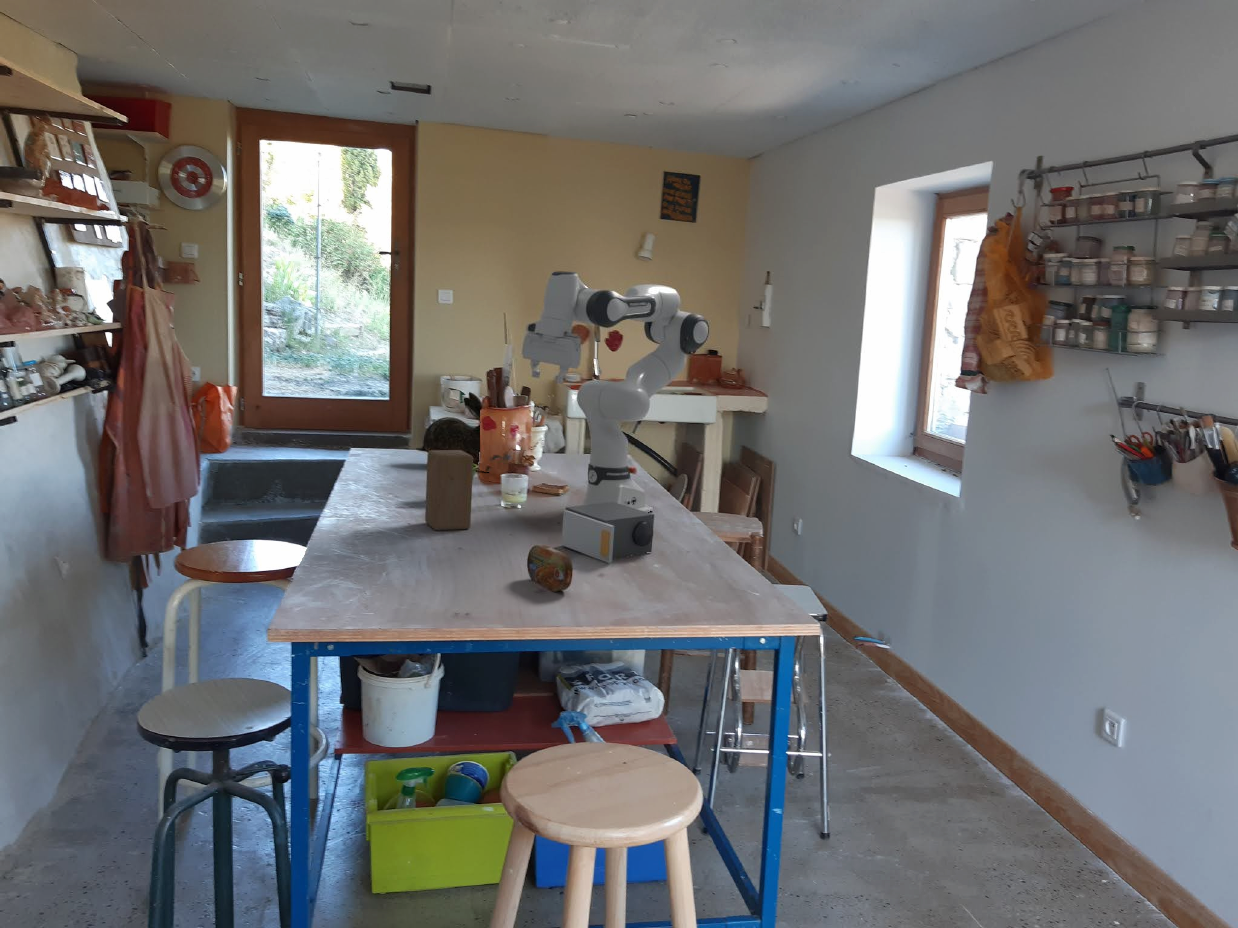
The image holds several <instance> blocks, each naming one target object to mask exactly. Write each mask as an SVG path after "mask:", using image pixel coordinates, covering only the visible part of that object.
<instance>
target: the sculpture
mask: <svg viewBox="0 0 1238 928" xmlns="http://www.w3.org/2000/svg"><path fill="white" fill-rule="evenodd" d="M463 403H464V406H465V407H466V408H467V410H468V411H469V412H470V414H471V415H472V416H474V418H476V419H477V420H479V422H480V410H481V409H482V405H483V402H482V400H480V398H479V397H478V396H477V395H476V394H474V393H473V392H471V391H468V397H464V398H463ZM422 441H423V442H422V444H423V445H422V447H417V448H416V450H417V451H418V452H426V453H427V454H428V452H429V451H431V450H461V451H464V452H465V453H467V454H469V455H471V456H472V457H473V464H476V465H477V466H478V465H479V464H478V462H479V452H480V424H478V425H477V426H471V425H469V424H468V423H466V422H465V421H463V420H461V419H459V418H456V417H452V416H451V417H450V416H447V417H446V416H444V417H441V418H439V419H436V420H435V421H433V422H432V423H431V424H430V425H429V426H428V428H427V429H426V431H425V433H424V437H423V440H422Z"/></svg>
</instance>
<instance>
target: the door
mask: <svg viewBox="0 0 1238 928" xmlns="http://www.w3.org/2000/svg"><path fill="white" fill-rule="evenodd" d="M613 539H614V526H613V525H610V524H607V523H604V522H601V521H598V520H595V519H592V518H589V517H586V516H583V515H580V514H577V513H574V512H571V511H568V510H565V509H563V518H562V534H561V546H563V547H566V548H568V549H571V550H574V551H576V552H579V553H581V554H584V555H587V556H590V557H592V558H595V559H597V560H600V561H602V562H605V563H608V564H610V563H611V564H612V563H613V559H612V554H613Z"/></svg>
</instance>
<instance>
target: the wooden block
mask: <svg viewBox="0 0 1238 928" xmlns="http://www.w3.org/2000/svg"><path fill="white" fill-rule="evenodd" d="M426 456H427V457H426V460H427V461H426V482H425V483H426V485H425V486H426V487H425V488H426V489H425V511H424V513H425V516H424V521H425V523H426V524H427V525H429V526H430V527H431V528H432V529H433V530H435V531H436V532H437V531H453V530H455V531H456V530H457V531H458V530H468V529H470V528H471V521H472V520H471V519H472V497H473V482H472V477H473V457H472V456H471V455H469V454H467V453H465V452H464V451H461V450H431V451H429V452H428V453H427V454H426ZM473 478H474V477H473Z"/></svg>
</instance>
